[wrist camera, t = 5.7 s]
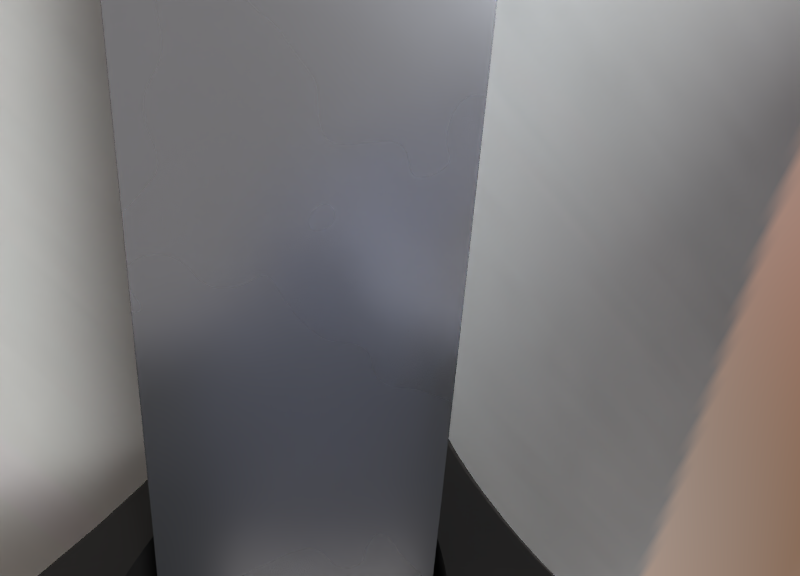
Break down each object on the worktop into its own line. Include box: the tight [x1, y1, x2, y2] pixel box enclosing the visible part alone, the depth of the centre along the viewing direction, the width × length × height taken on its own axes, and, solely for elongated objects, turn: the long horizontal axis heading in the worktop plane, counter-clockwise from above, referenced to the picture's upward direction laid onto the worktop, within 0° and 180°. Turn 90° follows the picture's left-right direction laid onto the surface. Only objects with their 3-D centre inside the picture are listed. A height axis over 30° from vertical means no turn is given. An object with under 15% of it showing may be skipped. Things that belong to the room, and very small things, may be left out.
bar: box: [101, 0, 497, 576], centre depth 8 cm, size 3×18×5 cm, turn 176°
